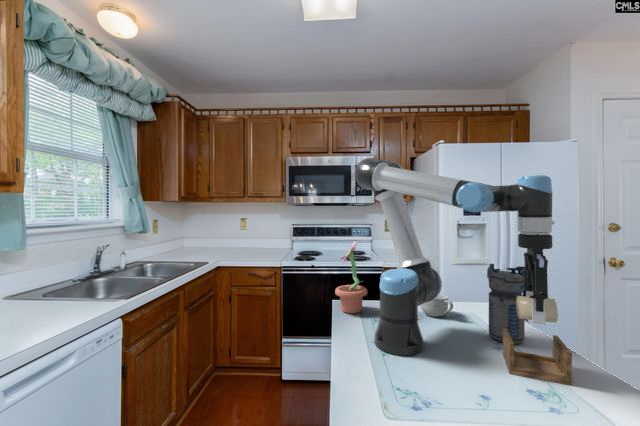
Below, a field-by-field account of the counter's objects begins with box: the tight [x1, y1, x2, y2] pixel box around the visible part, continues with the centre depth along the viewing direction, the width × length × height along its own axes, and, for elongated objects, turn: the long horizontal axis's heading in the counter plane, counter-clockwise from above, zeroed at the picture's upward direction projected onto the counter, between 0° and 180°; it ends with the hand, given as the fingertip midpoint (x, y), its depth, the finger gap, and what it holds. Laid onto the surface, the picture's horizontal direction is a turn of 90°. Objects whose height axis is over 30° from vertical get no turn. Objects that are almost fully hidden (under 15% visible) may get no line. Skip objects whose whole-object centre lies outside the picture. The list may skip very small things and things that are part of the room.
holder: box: [502, 328, 573, 387], centre depth 80 cm, size 13×11×8 cm
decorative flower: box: [334, 241, 368, 314], centre depth 128 cm, size 15×14×30 cm
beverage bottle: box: [486, 263, 529, 345], centre depth 99 cm, size 10×13×25 cm
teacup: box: [420, 293, 454, 318], centre depth 121 cm, size 14×11×8 cm
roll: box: [516, 296, 559, 323], centre depth 80 cm, size 8×6×6 cm
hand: (535, 318), depth 80 cm, fingers closed on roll, 6 cm apart
